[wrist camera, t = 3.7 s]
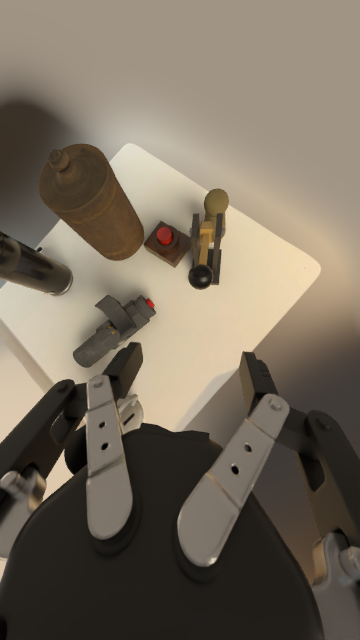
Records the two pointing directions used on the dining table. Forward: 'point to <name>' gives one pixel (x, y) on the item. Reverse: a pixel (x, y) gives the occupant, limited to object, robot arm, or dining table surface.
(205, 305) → the dining table surface
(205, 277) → the lever
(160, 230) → the button
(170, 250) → the lamp base
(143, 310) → the laser sight
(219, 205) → the tan wooden game pawn
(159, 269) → the dining table surface
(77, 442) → the glass holder
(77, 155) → the wooden container
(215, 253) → the switch bracket
